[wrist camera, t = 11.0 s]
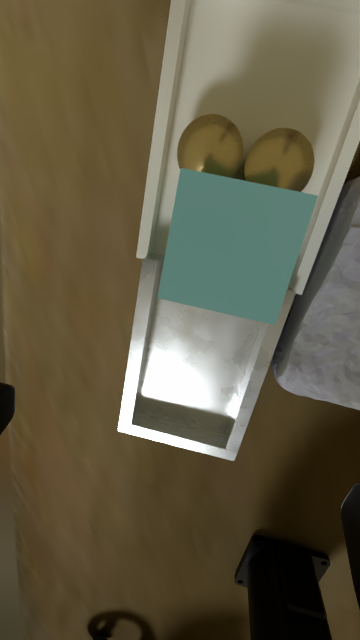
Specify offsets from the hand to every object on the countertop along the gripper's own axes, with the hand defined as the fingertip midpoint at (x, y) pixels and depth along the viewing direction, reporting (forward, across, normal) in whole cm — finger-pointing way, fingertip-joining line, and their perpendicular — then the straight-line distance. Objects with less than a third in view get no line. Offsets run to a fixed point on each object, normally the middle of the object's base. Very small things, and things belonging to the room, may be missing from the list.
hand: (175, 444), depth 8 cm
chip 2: (+11, -2, -8) cm, 14 cm away
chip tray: (+11, 0, -9) cm, 14 cm away
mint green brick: (+11, 0, -4) cm, 12 cm away
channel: (+12, 0, +3) cm, 12 cm away
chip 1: (+11, +2, -8) cm, 14 cm away
